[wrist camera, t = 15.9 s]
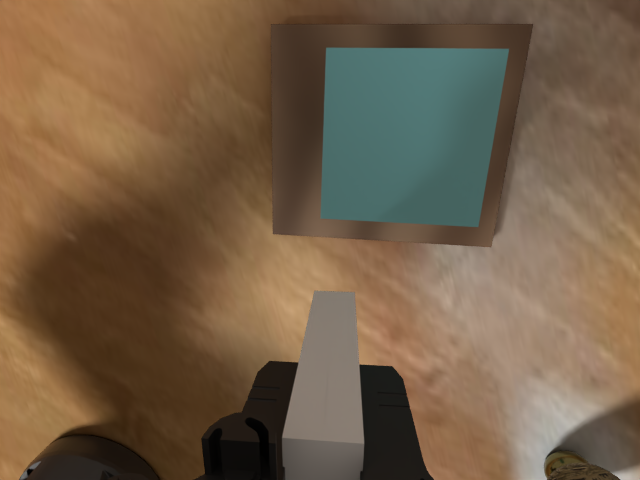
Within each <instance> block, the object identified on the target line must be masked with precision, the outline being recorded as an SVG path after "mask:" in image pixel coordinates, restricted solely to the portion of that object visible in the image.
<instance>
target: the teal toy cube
mask: <svg viewBox="0 0 640 480" xmlns="http://www.w3.org/2000/svg"><path fill="white" fill-rule="evenodd" d="M508 53H509V49H455V48H326V66H325V96H324V126H323V157H322V187H321V217H320V219H338V220H357V221H375V222H393V223H412V224H430V225H448V226H466V227H478V226H479V220H480V215H481V209H482V203H483V197H484V191H485V186H486V180H487V174H488V168H489V163H490V157H491V151H492V145H493V139H494V134H495V128H496V122H497V116H498V111H499V105H500V99H501V93H502V87H503V82H504V76H505V70H506V64H507V58H508Z"/></svg>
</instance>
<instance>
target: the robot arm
mask: <svg viewBox="0 0 640 480" xmlns="http://www.w3.org/2000/svg"><path fill="white" fill-rule="evenodd" d="M201 440H202V449H203V458H204V467H205V474H204V475H202V476H200V477H198V478H196V479H194V480H434V479H433V478H432V477H431V476H430V474H429V473H428V471H427V469H426V466H425V464H424V461H423V458H422V454H421V450H420V446H419V442H418V438H417V434H416V430H415V426H414V422H413V418H412V414H411V410H410V406H409V402H408V397H407V393H406V389H405V385H404V381H403V379H402V377H401V376H400V375H399V374H398V373H397V371H396V370H395V369H394V368H393V367H392V366H376V365H359V353H358V337H357V321H356V305H355V292H334V291H314V296H313V300H312V305H311V309H310V314H309V318H308V323H307V327H306V332H305V336H304V341H303V345H302V350H301V354H300V359H299V363H297V362H279V361H269V362H268V363H267V364H266V365H265V366H264V367H263V368H262V369H261V370H260V371H259V372H258V373H257V376H256V378H255V381H254V383H253V386H252V389H251V391H250V393H249V396H248V400H247V401H246V403H245V406H244V408H243V411H242V412H241V413H234V414H231V415H229V416H226V417H223V418H221V419H220V420H218V421H217V422H216V423H214V424H213V425H212V426H210V427H209V429H208V430H207V431H206V433H205V434H204V435H203V437H202V438H201ZM19 480H159V479H158V477H157V476H156V474H155V473H154V472H153V470H152V469H151V468H150V467H149V466H148V465H147V464H146V463H145V462H144V461H143V460H142V459H141V458H140V457H138V456H137V455H136V454H134V453H133V452H132V451H130V450H128V449H127V448H125V447H123V446H121V445H119V444H117V443H115V442H112V441H109V440H106V439H103V438H99V437H94V436H87V435H75V436H68V437H64V438H61V439H58V440H56V441H54V442H53V443H51V444H50V445H49V446H47V447H46V448H45V449H44V450H43V451H42V452H41V453H40V454H39V455H38V456H37V457H36V458H35V459H34V460H33V461H32V462H31V463H30V464H29V465H28V467H27V468H26V469H25V471H24V472H23V474H22V475H21V477H20V479H19Z"/></svg>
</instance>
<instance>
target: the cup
mask: <svg viewBox="0 0 640 480" xmlns="http://www.w3.org/2000/svg"><path fill="white" fill-rule="evenodd" d="M544 472H545V476H546V478H547V480H620V479H619V478H618V477H617V476H615V475H613V474H612V473H610V472H609V471H607V470H605V469H603V468H601V467H598V466H595V465H592V464H589V462H588V461H587V460H586V459H584V458H583V457H582V456H580V455H579V454H577V453H575V452H572V451H558V452H555V453H553V454H551V455H550V456H548V457H547V459H546V460H545V463H544Z"/></svg>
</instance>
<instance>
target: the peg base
mask: <svg viewBox="0 0 640 480" xmlns="http://www.w3.org/2000/svg"><path fill="white" fill-rule="evenodd" d="M532 28H533V24H271V75H272V191H273V234H281V235H297V236H314V237H331V238H347V239H364V240H381V241H398V242H414V243H431V244H448V245H464V246H481V247H491V246H492V241H493V235H494V230H495V225H496V219H497V214H498V209H499V203H500V198H501V193H502V187H503V182H504V177H505V171H506V166H507V161H508V155H509V150H510V145H511V139H512V134H513V129H514V123H515V118H516V113H517V107H518V102H519V97H520V91H521V86H522V81H523V76H524V70H525V65H526V60H527V54H528V49H529V44H530V38H531V33H532ZM326 48H455V49H509V53H508V58H507V64H506V70H505V76H504V82H503V87H502V93H501V99H500V105H499V111H498V116H497V122H496V128H495V134H494V139H493V145H492V151H491V157H490V163H489V168H488V174H487V180H486V186H485V191H484V197H483V203H482V209H481V215H480V220H479V226H478V227H466V226H448V225H430V224H412V223H393V222H375V221H357V220H338V219H320V217H321V187H322V157H323V126H324V96H325V66H326Z"/></svg>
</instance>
